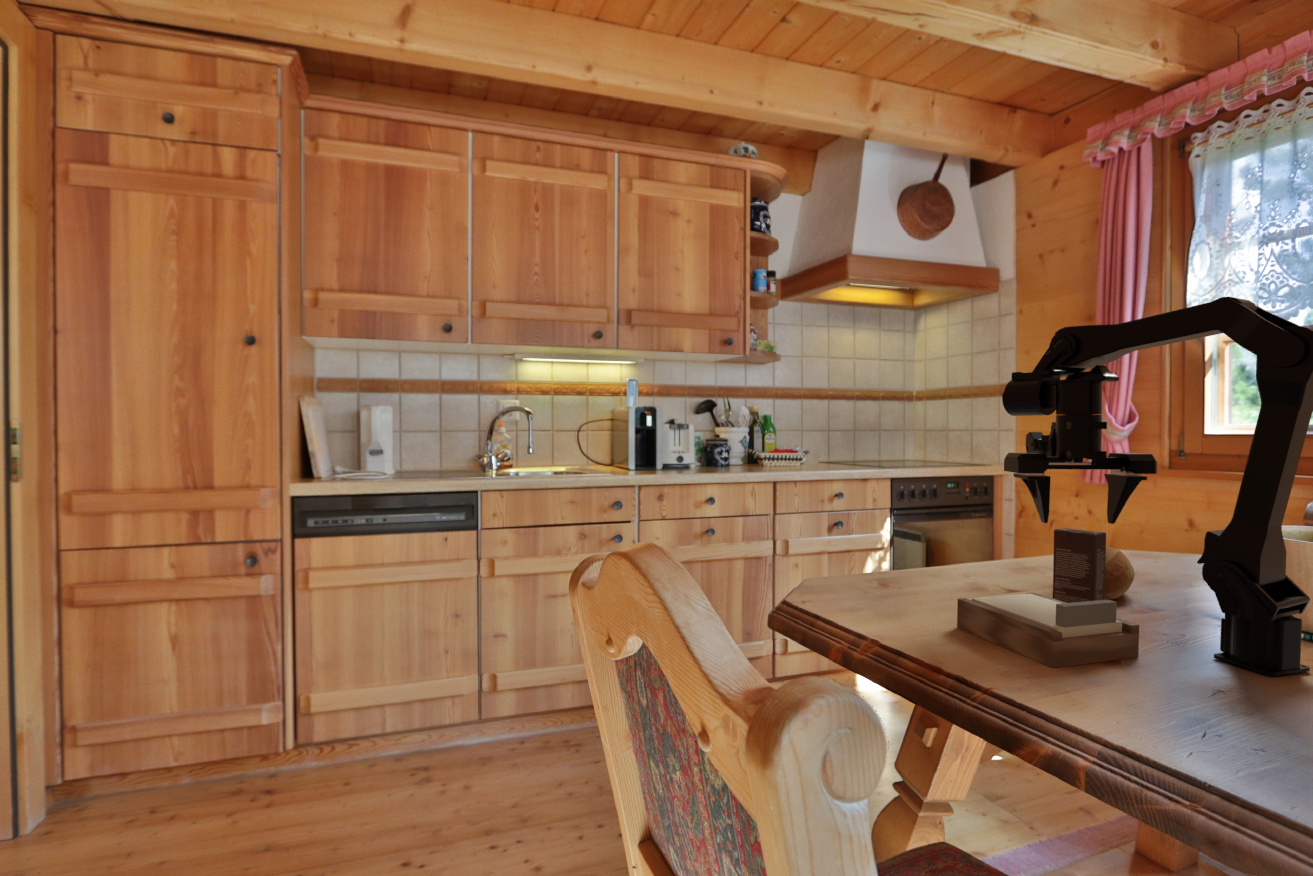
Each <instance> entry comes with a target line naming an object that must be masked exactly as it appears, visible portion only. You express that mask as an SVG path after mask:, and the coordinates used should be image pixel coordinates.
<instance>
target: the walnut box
mask: <svg viewBox="0 0 1313 876" xmlns="http://www.w3.org/2000/svg"><path fill="white" fill-rule="evenodd" d="M1026 594H1034V595H1037V596H1040V597H1043V598H1047V599H1050V600H1053V601H1056V602H1060V603H1066V602H1063V601H1059V600H1056V599H1053V597H1049V596H1046V595H1042V594H1039V593H1035V592H1027V593H1026ZM956 611H957V615H956V628H957V629H960V630H962V631H964V632H966V633H970V634H972V635H973V636H977V637H979V638H981V639H983V640H985V641H988V642H991V643H993V644H995V645H998V646H1000V647H1003V648H1005V649H1007V650H1010V651H1012V652H1014V653H1017V654H1020V655H1022V656H1025V657H1027V658H1029V659H1031V660H1034V661H1036V662H1038V663H1041V664H1043V665H1046V666H1048V667H1051V668H1061V667H1070V666H1080V665H1087V664H1094V663H1096V664H1097V663H1104V662H1105V663H1106V662H1112V661H1119V660H1121V661H1122V660H1129V659H1137V658H1139V650H1140V648H1139V647H1140V646H1139V645H1140V644H1139V643H1140V624H1138V623H1135V622H1131V621H1127V620H1125V619H1121V618H1118V617H1116V620H1118V621H1121V622H1122V632H1113V633H1104V634H1094V635H1084V636H1075V637H1065V638H1062V632H1059V631H1056V630H1053V629H1051V628H1048V627H1045V626H1042V625H1039V624H1036V623H1034V622H1031V621H1028V620H1025V619H1022V618H1020V617H1017V616H1014V615H1011V614H1008V613H1005V612H1003V611H1000V610H997V609H994V608H991V607H989V606H986V605H983V604H980V603H977V602H974V601H972V599H968V598H966V597H963V598H961V597H960V598H957V609H956Z"/></svg>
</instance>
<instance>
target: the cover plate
mask: <svg viewBox="0 0 1313 876" xmlns="http://www.w3.org/2000/svg"><path fill="white" fill-rule="evenodd" d="M971 600H972V601H974V602H977V603H980V604H983V605H986V606H989V607H991V608H994V609H997V610H1000V611H1003V612H1005V613H1008V614H1011V615H1014V616H1017V617H1020V618H1022V619H1025V620H1028V621H1031V622H1034V623H1036V624H1039V625H1042V626H1045V627H1048V628H1051V629H1053V630H1056V631H1059V632H1062V638H1065V637H1075V636H1084V635H1094V634H1104V633H1113V632H1122V622H1121V621H1118V620H1116V618H1117V601H1114V600H1112V599H1105V600H1096V601H1085V602H1073V603H1060V602H1056V601H1053V600H1050V599H1047V598H1043V597H1040V596H1037V595H1034V594H1027V593H1023V594H1022V593H1021V594H1009V595H999V596H998V595H997V596H986V597H983V596H982V597H972V598H971Z"/></svg>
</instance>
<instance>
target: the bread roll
mask: <svg viewBox="0 0 1313 876" xmlns="http://www.w3.org/2000/svg"><path fill="white" fill-rule="evenodd" d="M1134 579H1135V570H1134V566H1133V564H1132V562H1131V561H1130V560H1129V558H1128V556H1127V555H1126V554H1124V552H1122V550H1120V549H1117V548H1114V547H1110V546H1108V545H1106V557H1105V600H1115V599H1119V598H1120V597H1122V596H1124V594H1125V593H1127V592H1128V590H1129V589H1130V587H1131V585H1132V584H1133V582H1134Z"/></svg>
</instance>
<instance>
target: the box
mask: <svg viewBox="0 0 1313 876" xmlns="http://www.w3.org/2000/svg"><path fill="white" fill-rule="evenodd" d="M1106 546H1107V532H1106V531H1105V532H1104V531H1097V530H1096V531H1095V530H1085V529H1078V528H1071V527H1070V528H1069V527H1062V528H1055V529H1054V530H1053V561H1052V562H1053V566H1052V567H1053V571H1052V572H1053V573H1052V574H1053V575H1052V598H1053V599H1056V600H1059V601H1063V602H1066V603H1073V602H1085V601H1096V600H1106V599H1105V557H1106Z"/></svg>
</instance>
